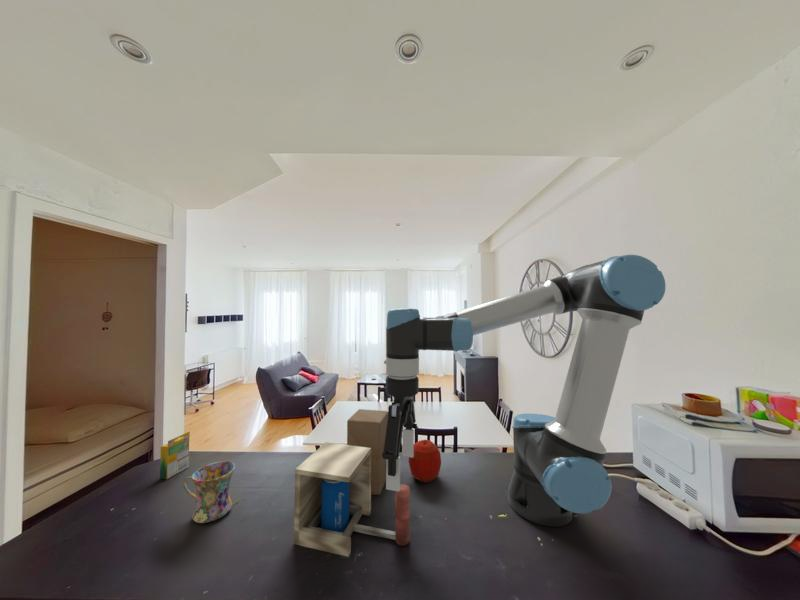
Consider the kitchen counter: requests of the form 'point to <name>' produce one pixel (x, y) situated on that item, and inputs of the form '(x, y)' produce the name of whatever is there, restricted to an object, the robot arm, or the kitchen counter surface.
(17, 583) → the kitchen counter surface
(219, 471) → the mug
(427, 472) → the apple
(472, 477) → the kitchen counter surface
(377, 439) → the wooden block
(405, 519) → the square frame pulling tool
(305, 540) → the open wooden box
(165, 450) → the crayon box
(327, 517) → the beverage can
